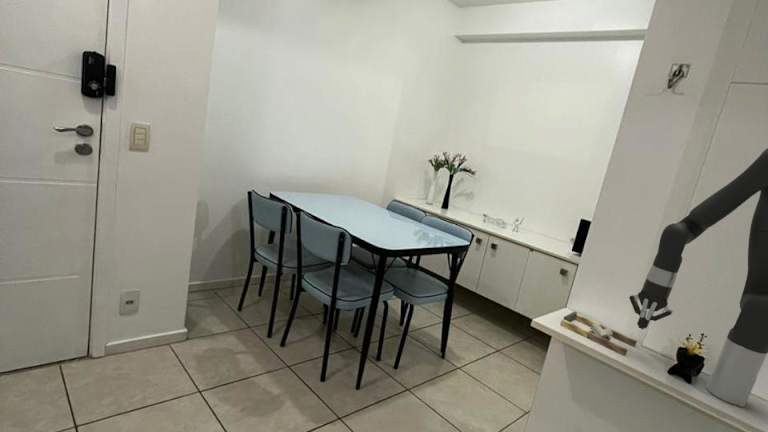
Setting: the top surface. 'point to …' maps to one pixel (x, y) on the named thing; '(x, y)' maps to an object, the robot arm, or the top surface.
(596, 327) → the pipe fitting
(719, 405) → the top surface
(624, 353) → the rail
